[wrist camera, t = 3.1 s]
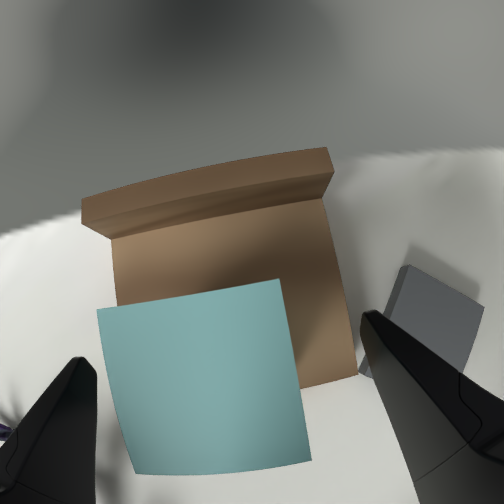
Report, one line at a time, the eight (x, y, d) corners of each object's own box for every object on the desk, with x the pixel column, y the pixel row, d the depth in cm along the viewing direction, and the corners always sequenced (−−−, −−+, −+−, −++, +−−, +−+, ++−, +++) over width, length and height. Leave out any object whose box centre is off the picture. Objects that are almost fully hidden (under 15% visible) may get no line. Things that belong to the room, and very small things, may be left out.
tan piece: (344, 366, 15) (381, 388, 10) (153, 396, 15) (110, 426, 10) (308, 195, 17) (326, 146, 12) (128, 230, 17) (81, 199, 12)
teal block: (285, 381, 13) (311, 460, 5) (200, 394, 13) (135, 474, 5) (269, 298, 14) (279, 278, 6) (184, 313, 14) (96, 309, 6)
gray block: (473, 308, 15) (484, 307, 14) (438, 401, 14) (447, 405, 13) (400, 267, 16) (409, 264, 15) (357, 371, 15) (364, 375, 14)
